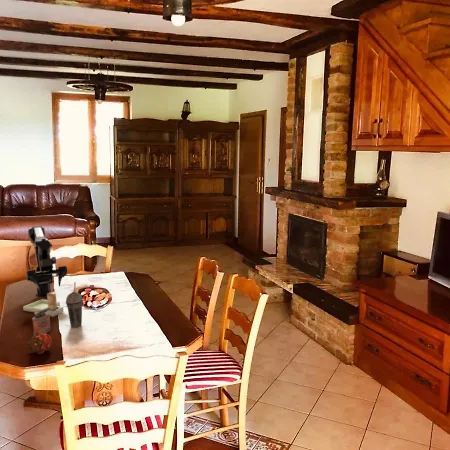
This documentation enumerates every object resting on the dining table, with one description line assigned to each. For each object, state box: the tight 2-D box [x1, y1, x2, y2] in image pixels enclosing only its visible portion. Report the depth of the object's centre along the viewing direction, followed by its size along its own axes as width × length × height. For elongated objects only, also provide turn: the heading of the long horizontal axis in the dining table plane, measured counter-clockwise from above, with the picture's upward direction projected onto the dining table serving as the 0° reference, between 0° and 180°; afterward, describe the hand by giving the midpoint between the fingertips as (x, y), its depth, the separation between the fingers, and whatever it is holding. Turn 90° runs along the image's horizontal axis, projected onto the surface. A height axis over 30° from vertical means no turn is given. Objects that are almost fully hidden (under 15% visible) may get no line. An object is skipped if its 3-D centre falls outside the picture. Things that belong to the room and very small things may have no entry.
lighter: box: [31, 309, 52, 336], centre depth 209 cm, size 8×3×10 cm, turn 148°
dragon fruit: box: [27, 332, 53, 355], centre depth 190 cm, size 8×8×12 cm
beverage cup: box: [65, 281, 84, 329], centre depth 214 cm, size 7×7×20 cm
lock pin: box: [46, 291, 58, 311], centre depth 232 cm, size 4×4×10 cm
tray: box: [22, 298, 61, 313], centre depth 241 cm, size 12×12×2 cm
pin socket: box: [45, 306, 65, 318], centre depth 233 cm, size 7×7×2 cm
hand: (49, 287), depth 235 cm, fingers open, 9 cm apart
